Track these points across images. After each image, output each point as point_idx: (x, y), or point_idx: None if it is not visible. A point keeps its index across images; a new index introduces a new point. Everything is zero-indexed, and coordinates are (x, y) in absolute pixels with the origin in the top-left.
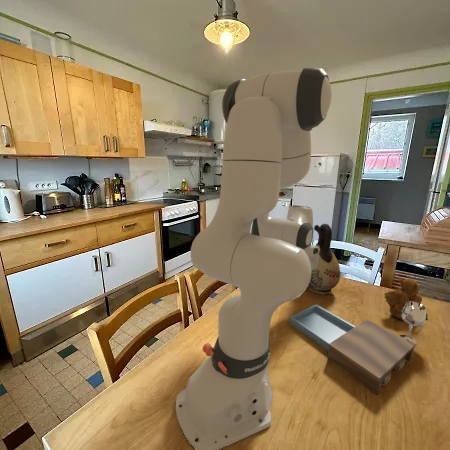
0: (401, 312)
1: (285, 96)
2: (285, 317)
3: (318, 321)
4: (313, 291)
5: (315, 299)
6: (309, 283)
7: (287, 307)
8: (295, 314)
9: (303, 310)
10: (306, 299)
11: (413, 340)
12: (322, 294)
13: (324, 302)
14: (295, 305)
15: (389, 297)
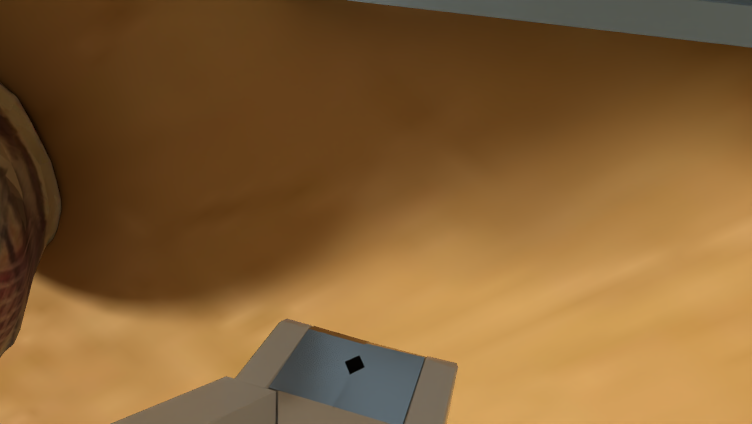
0: None
1: None
2: (693, 148)
3: None
4: (53, 183)
5: (128, 101)
6: (13, 251)
7: (481, 231)
8: (704, 32)
9: (506, 12)
10: (201, 165)
11: None
12: (14, 96)
13: (90, 5)
14: (380, 190)
15: None
